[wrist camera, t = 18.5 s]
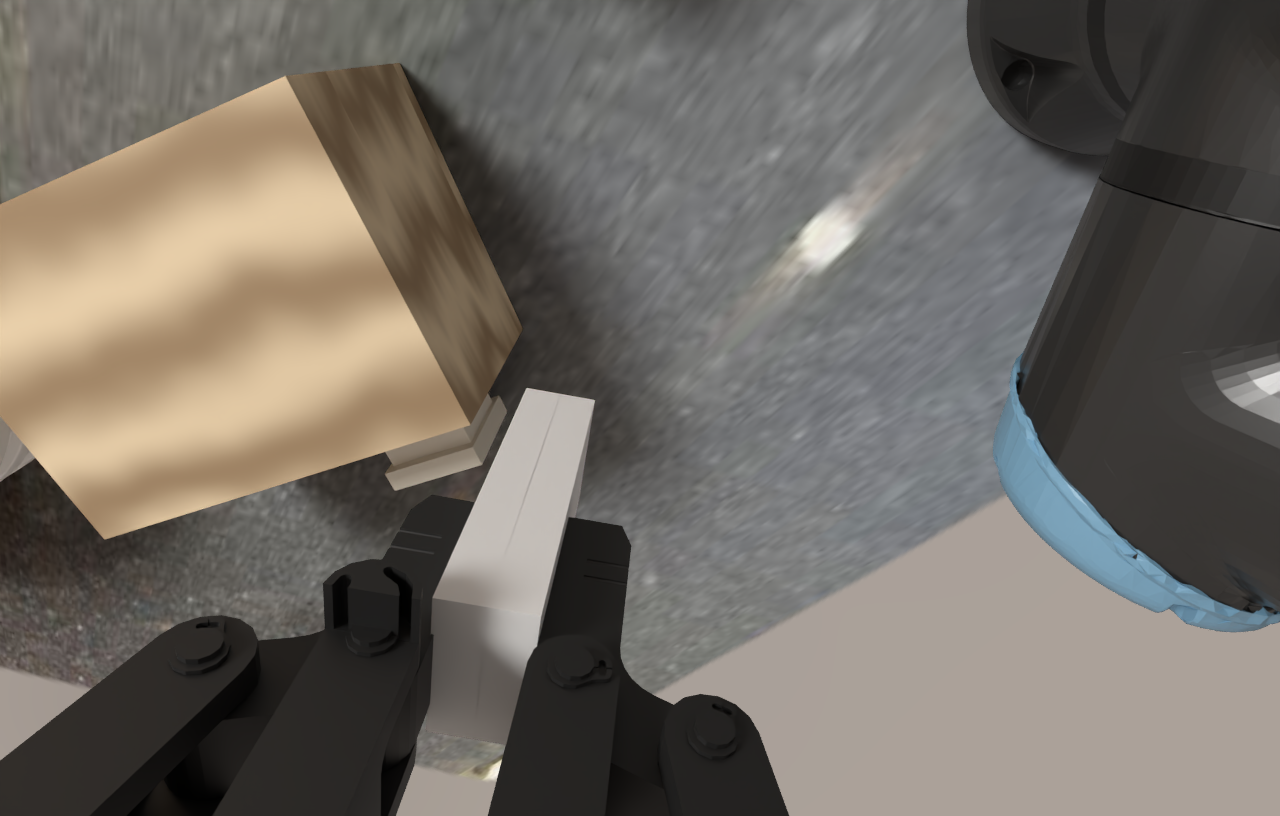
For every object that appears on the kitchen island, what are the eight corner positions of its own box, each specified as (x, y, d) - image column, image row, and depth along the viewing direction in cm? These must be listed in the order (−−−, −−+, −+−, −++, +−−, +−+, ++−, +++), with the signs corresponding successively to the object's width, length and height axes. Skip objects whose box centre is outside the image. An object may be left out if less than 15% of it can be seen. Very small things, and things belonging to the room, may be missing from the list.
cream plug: (507, 411, 46) (482, 464, 41) (429, 435, 47) (394, 490, 42) (372, 142, 39) (318, 161, 33) (285, 178, 40) (219, 202, 35)
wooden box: (523, 329, 46) (470, 425, 34) (233, 426, 50) (104, 539, 39) (399, 62, 39) (285, 76, 28) (78, 203, 43) (-130, 262, 32)
